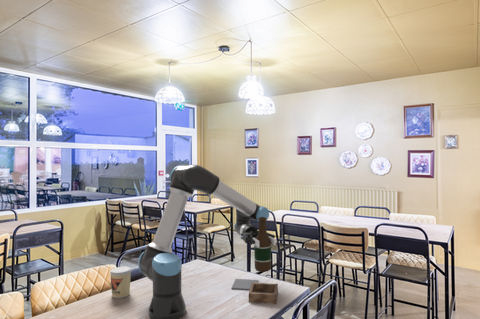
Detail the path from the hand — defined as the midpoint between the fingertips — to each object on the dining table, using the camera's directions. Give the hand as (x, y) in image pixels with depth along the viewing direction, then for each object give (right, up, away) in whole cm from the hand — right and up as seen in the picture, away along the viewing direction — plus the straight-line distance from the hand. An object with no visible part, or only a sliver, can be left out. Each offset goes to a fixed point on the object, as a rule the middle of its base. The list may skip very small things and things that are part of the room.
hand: (266, 243), depth 142 cm
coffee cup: (-69, -27, +8) cm, 74 cm away
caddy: (-1, -26, +4) cm, 26 cm away
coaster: (-9, -26, +19) cm, 33 cm away
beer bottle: (-1, -13, +5) cm, 14 cm away
